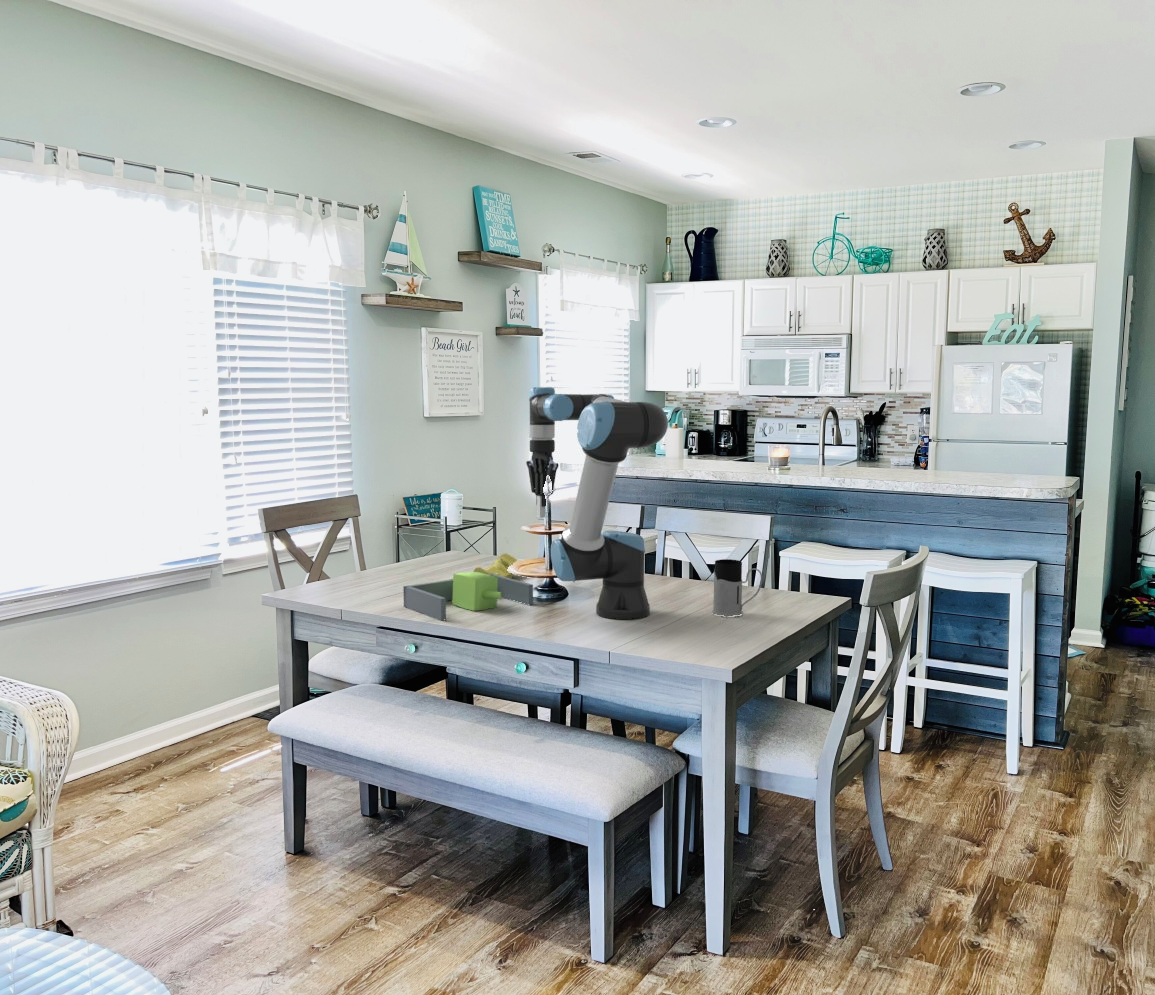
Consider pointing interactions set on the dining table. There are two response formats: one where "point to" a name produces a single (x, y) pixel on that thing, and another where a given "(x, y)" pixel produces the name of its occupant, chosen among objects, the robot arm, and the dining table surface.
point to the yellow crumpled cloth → (499, 566)
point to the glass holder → (729, 587)
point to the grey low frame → (436, 594)
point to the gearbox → (475, 591)
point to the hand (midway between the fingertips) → (542, 517)
